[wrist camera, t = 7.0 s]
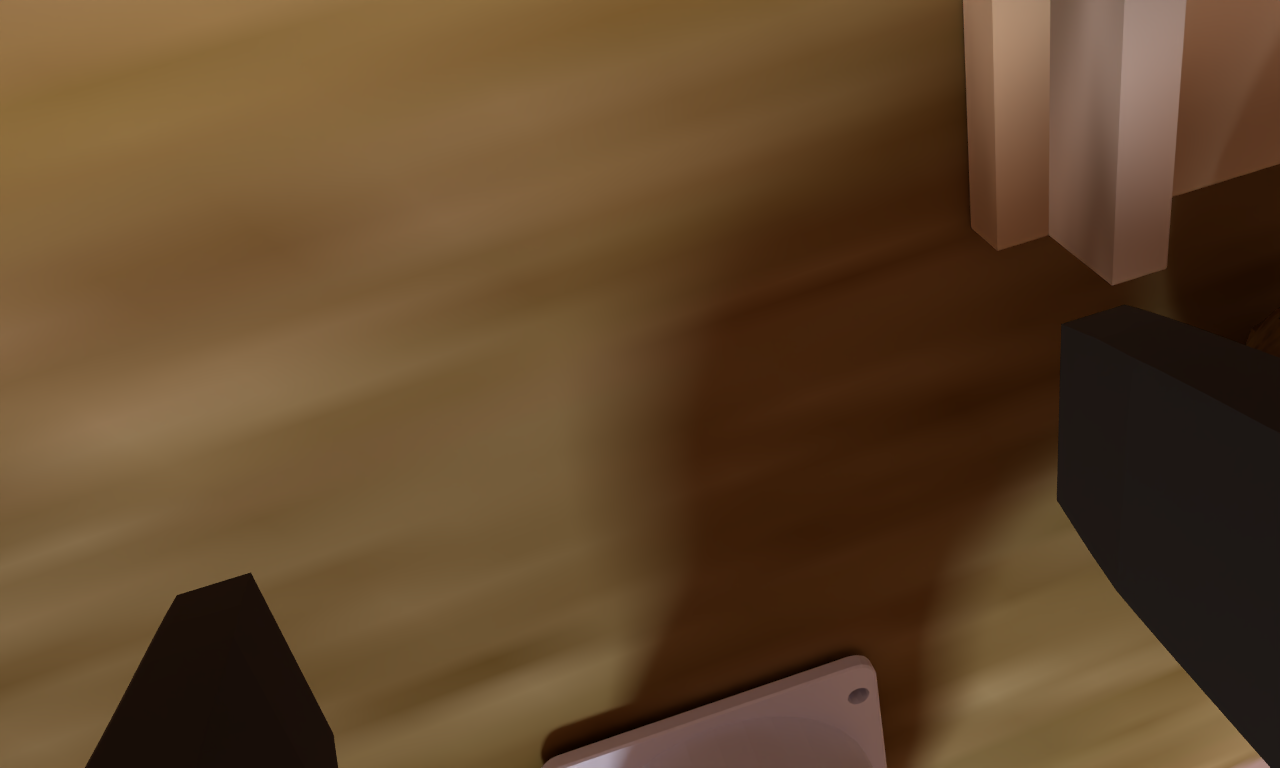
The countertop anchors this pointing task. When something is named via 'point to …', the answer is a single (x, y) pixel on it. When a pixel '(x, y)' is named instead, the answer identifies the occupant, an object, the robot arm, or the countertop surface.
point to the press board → (1113, 117)
